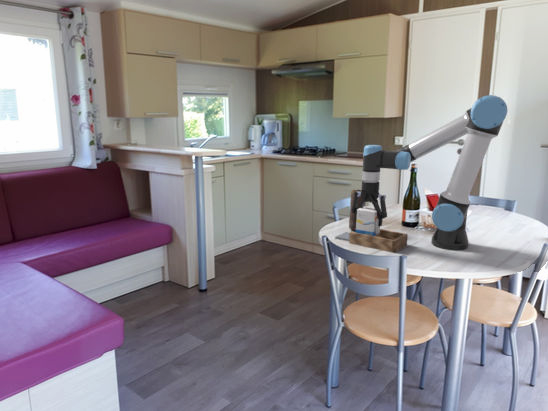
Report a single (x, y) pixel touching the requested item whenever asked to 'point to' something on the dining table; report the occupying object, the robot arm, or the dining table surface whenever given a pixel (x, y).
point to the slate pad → (344, 236)
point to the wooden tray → (380, 240)
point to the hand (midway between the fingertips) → (367, 230)
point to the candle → (352, 216)
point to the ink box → (366, 221)
